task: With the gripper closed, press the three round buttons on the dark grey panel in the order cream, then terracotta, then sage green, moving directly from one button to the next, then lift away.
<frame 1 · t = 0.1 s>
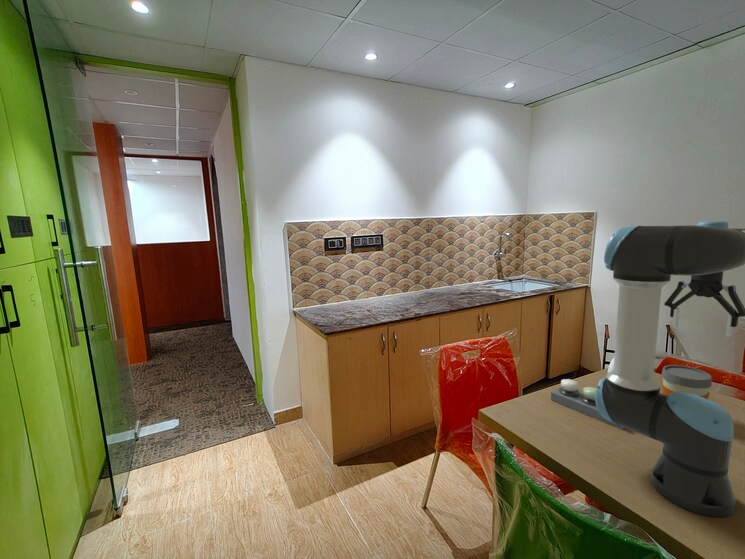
hand: (700, 331, 118), 28 cm above the table, tool pointing down, fingers open, 13 cm apart
sauce bottle: (618, 390, 137), on the table
reusable coffee cup: (682, 414, 119), on the table
button panel: (591, 408, 124), on the table
cream button: (569, 384, 130), point 6 cm above the table, slide at 0.0 cm
sage button: (592, 393, 123), point 6 cm above the table, slide at 0.0 cm
terracotta button: (617, 402, 116), point 6 cm above the table, slide at 0.0 cm
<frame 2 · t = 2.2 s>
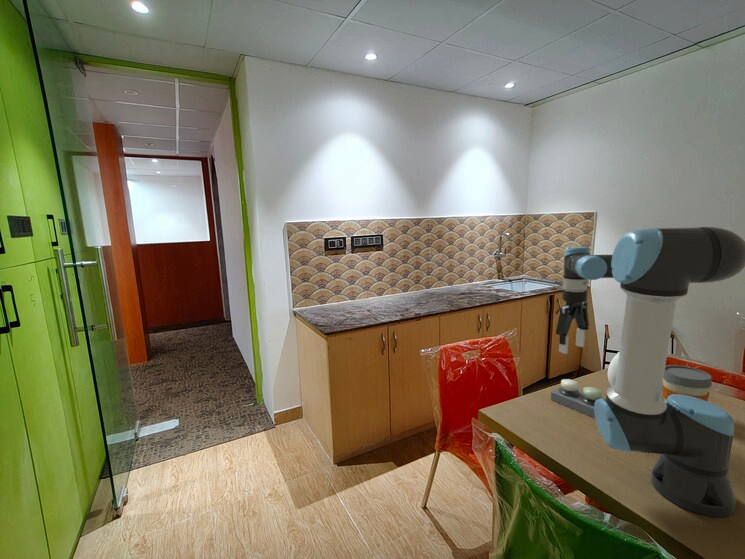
hand: (571, 349, 127), 20 cm above the table, tool pointing down, fingers open, 10 cm apart
nothing on the table moved.
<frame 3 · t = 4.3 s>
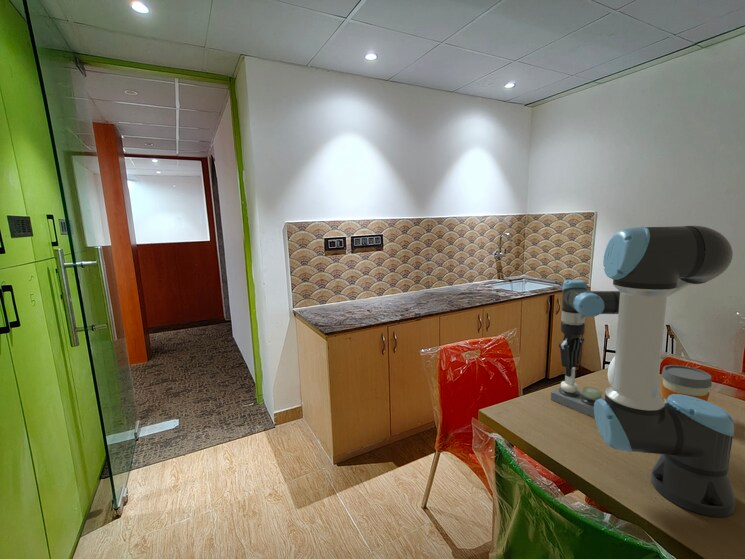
hand: (569, 383, 130), 7 cm above the table, tool pointing down, fingers closed
cream button: (569, 386, 130), point 5 cm above the table, slide at 0.7 cm, touching gripper
everything else where it was.
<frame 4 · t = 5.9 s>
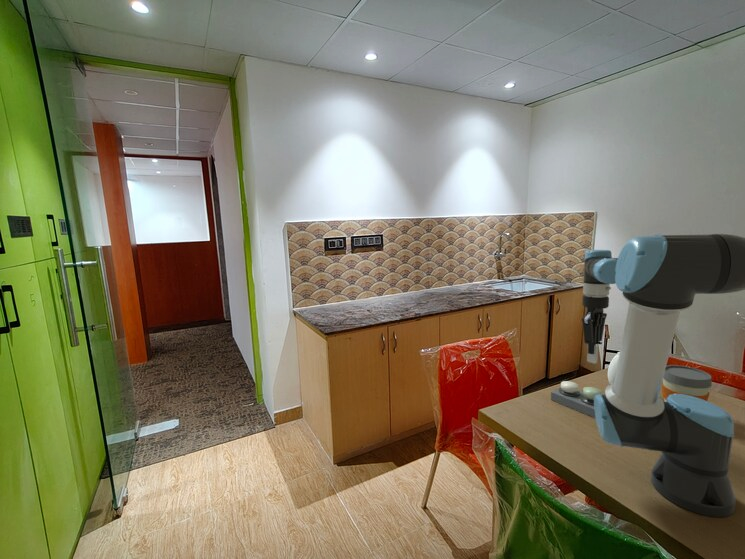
hand: (592, 362, 121), 18 cm above the table, tool pointing down, fingers closed
cream button: (569, 386, 130), point 5 cm above the table, slide at 0.8 cm
everything else where it was.
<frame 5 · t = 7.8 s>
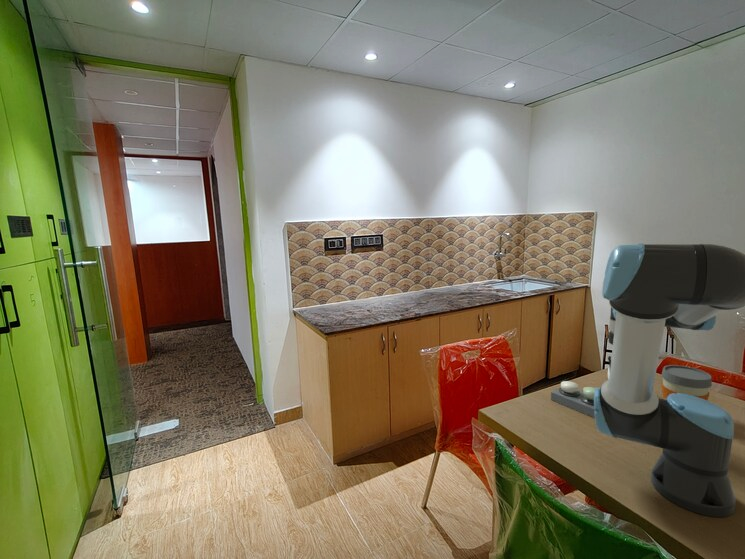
hand: (617, 400, 116), 7 cm above the table, tool pointing down, fingers closed
terracotta button: (617, 404, 116), point 5 cm above the table, slide at 0.7 cm, touching gripper
everything else where it was.
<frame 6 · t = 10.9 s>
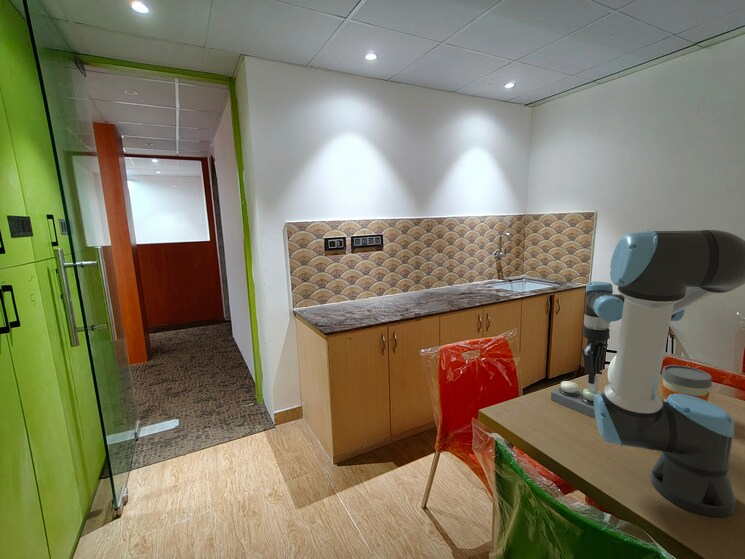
hand: (592, 391, 123), 7 cm above the table, tool pointing down, fingers closed
sage button: (592, 394, 123), point 5 cm above the table, slide at 0.6 cm, touching gripper
terracotta button: (617, 404, 116), point 5 cm above the table, slide at 0.8 cm
everything else where it was.
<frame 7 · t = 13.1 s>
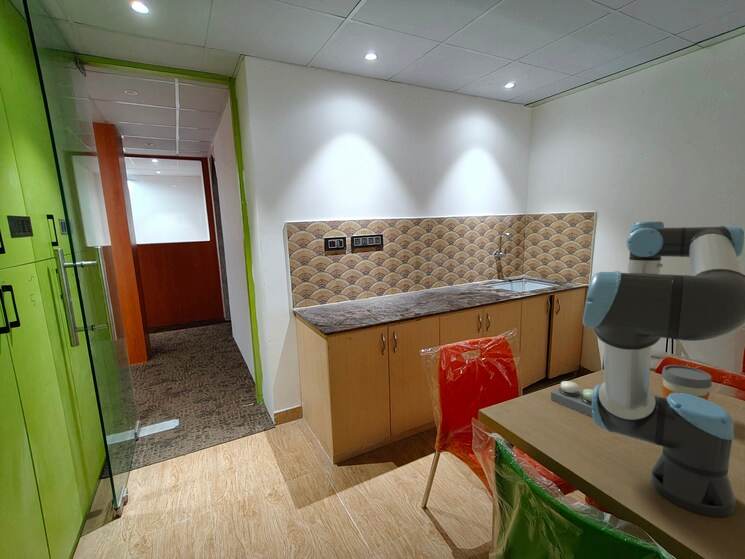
hand: (637, 351, 106), 27 cm above the table, tool pointing down, fingers closed
sage button: (592, 395, 123), point 5 cm above the table, slide at 0.8 cm
everything else where it was.
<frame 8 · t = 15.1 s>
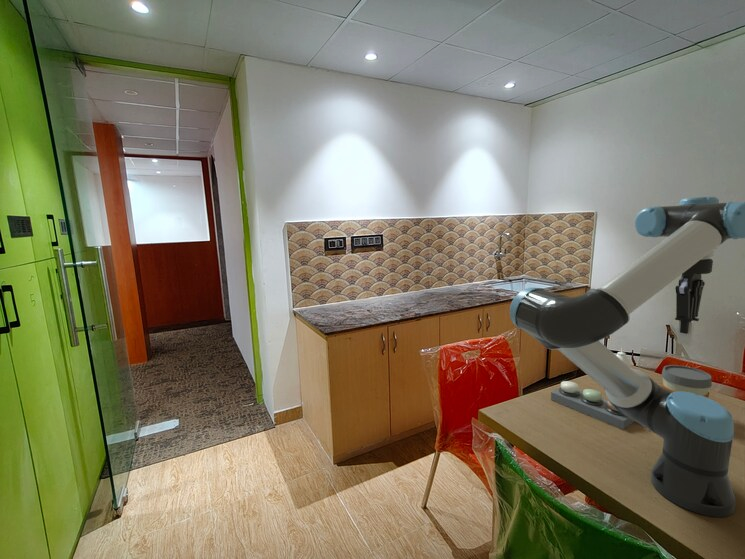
hand: (684, 343, 95), 32 cm above the table, tool pointing down, fingers closed
nothing on the table moved.
at the end: cream button slide at 0.8 cm; terracotta button slide at 0.8 cm; sage button slide at 0.8 cm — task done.
